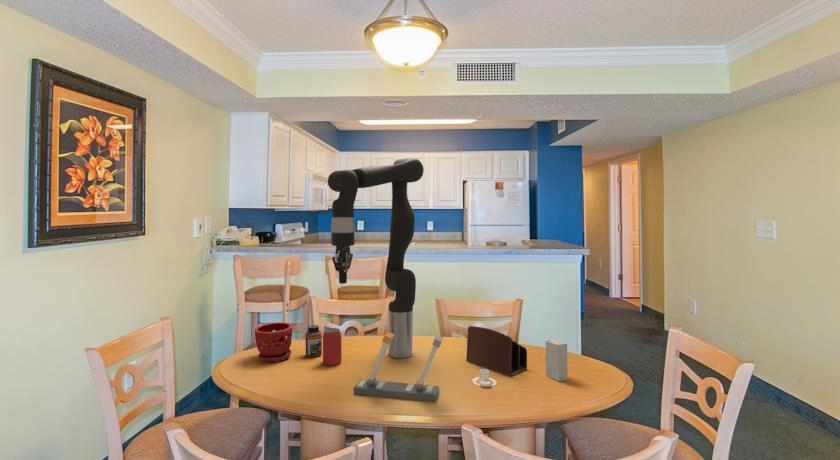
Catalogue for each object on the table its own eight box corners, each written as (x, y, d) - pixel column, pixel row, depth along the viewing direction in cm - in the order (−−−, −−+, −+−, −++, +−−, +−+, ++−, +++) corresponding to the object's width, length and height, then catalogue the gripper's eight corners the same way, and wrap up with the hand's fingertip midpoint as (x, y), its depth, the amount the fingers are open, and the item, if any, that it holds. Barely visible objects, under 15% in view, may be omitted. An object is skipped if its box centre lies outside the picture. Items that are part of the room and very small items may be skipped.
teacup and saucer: (490, 391, 130) (490, 378, 130) (466, 385, 134) (467, 372, 134) (500, 381, 138) (500, 369, 137) (478, 376, 142) (478, 364, 142)
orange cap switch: (368, 379, 131) (387, 331, 129) (375, 382, 130) (394, 334, 129) (364, 384, 127) (384, 335, 125) (371, 387, 126) (391, 338, 125)
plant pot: (274, 350, 165) (273, 320, 165) (299, 355, 160) (299, 324, 159) (247, 361, 154) (246, 328, 153) (273, 367, 148) (273, 333, 147)
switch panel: (360, 385, 133) (360, 378, 133) (439, 392, 128) (439, 385, 128) (353, 394, 126) (353, 386, 126) (435, 401, 122) (435, 394, 122)
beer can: (337, 367, 148) (337, 333, 148) (319, 365, 150) (319, 332, 149) (344, 360, 155) (344, 328, 154) (327, 359, 156) (327, 327, 156)
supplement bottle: (307, 353, 163) (307, 324, 162) (322, 352, 163) (322, 323, 163) (304, 358, 157) (304, 328, 156) (320, 358, 157) (320, 328, 157)
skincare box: (568, 379, 139) (568, 343, 138) (557, 382, 137) (558, 345, 136) (554, 373, 144) (555, 338, 144) (544, 375, 142) (545, 339, 142)
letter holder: (510, 377, 140) (510, 335, 140) (465, 361, 155) (466, 323, 155) (527, 370, 147) (528, 330, 146) (483, 355, 162) (483, 319, 161)
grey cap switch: (416, 383, 128) (436, 334, 126) (422, 386, 128) (443, 337, 126) (413, 388, 124) (434, 338, 122) (420, 392, 124) (441, 341, 122)
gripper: (346, 232, 132) (346, 287, 132) (360, 230, 145) (360, 280, 145) (324, 231, 133) (324, 286, 134) (339, 230, 146) (339, 279, 147)
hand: (342, 283), depth 140 cm, fingers closed
